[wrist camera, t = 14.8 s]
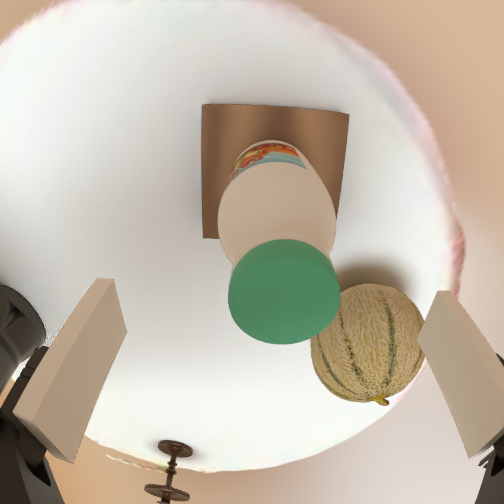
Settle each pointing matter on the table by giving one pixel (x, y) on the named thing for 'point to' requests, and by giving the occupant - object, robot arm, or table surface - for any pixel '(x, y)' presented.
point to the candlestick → (170, 473)
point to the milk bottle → (279, 245)
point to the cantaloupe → (369, 345)
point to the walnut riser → (260, 129)
